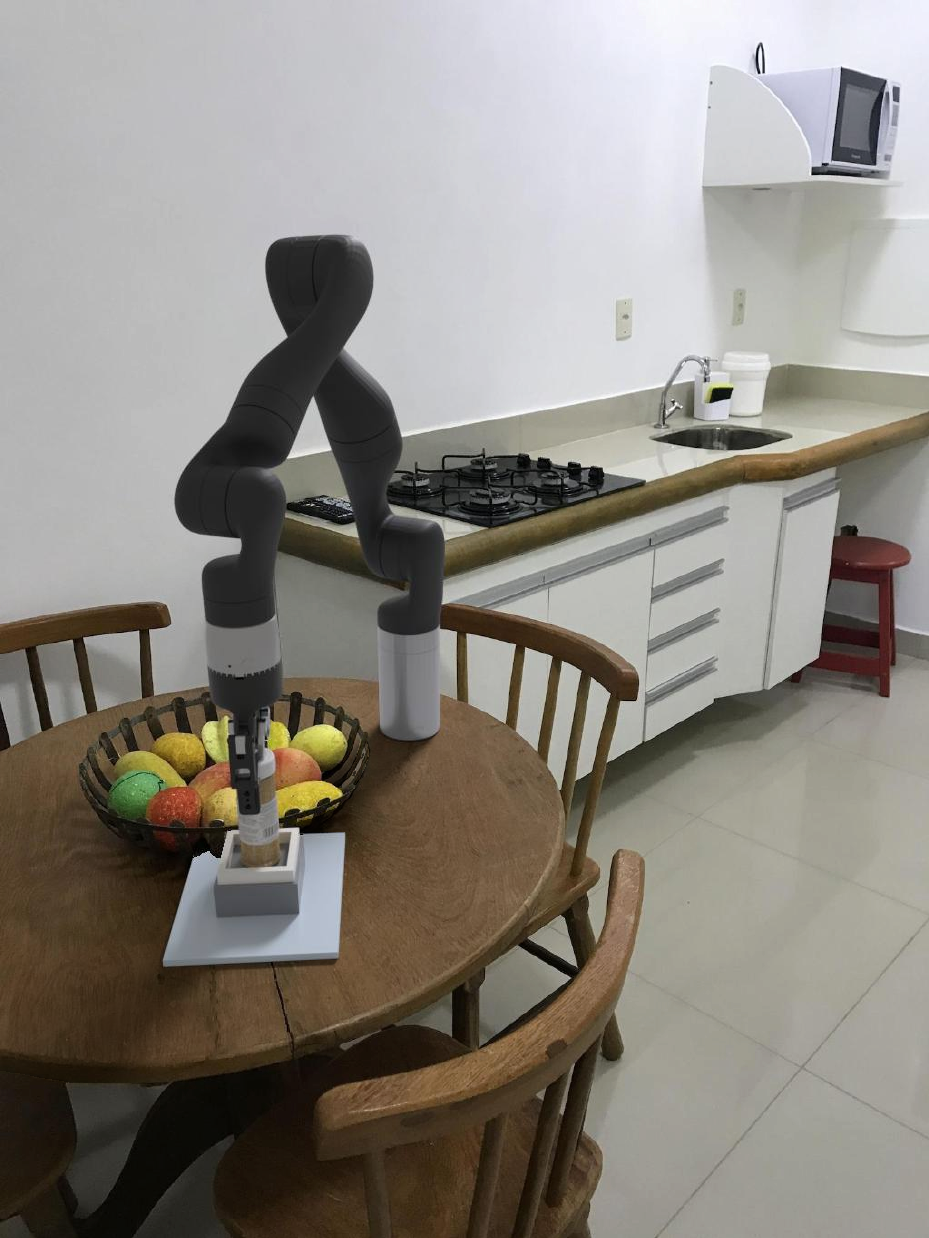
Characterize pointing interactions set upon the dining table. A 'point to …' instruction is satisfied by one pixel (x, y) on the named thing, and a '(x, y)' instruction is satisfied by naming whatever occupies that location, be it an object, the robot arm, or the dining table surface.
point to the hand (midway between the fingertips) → (255, 791)
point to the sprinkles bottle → (261, 820)
